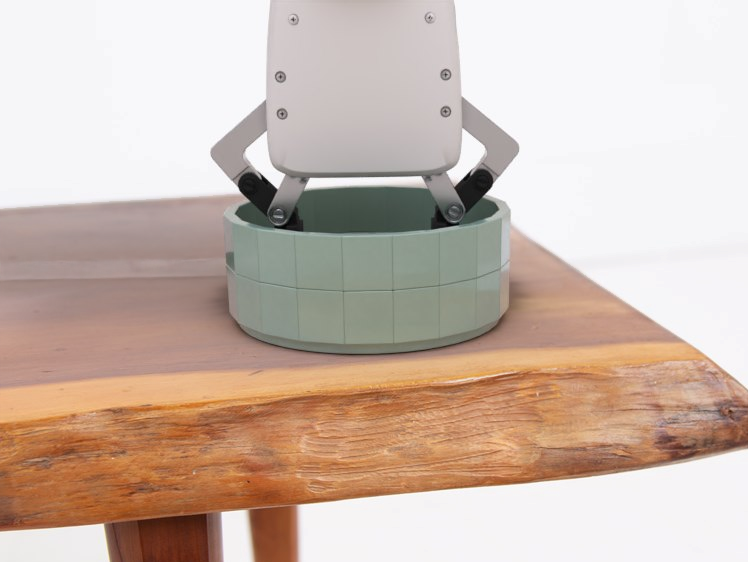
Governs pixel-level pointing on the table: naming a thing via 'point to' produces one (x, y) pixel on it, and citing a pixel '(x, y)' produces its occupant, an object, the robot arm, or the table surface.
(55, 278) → the table surface
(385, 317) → the bowl
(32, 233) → the table surface
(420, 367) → the table surface
